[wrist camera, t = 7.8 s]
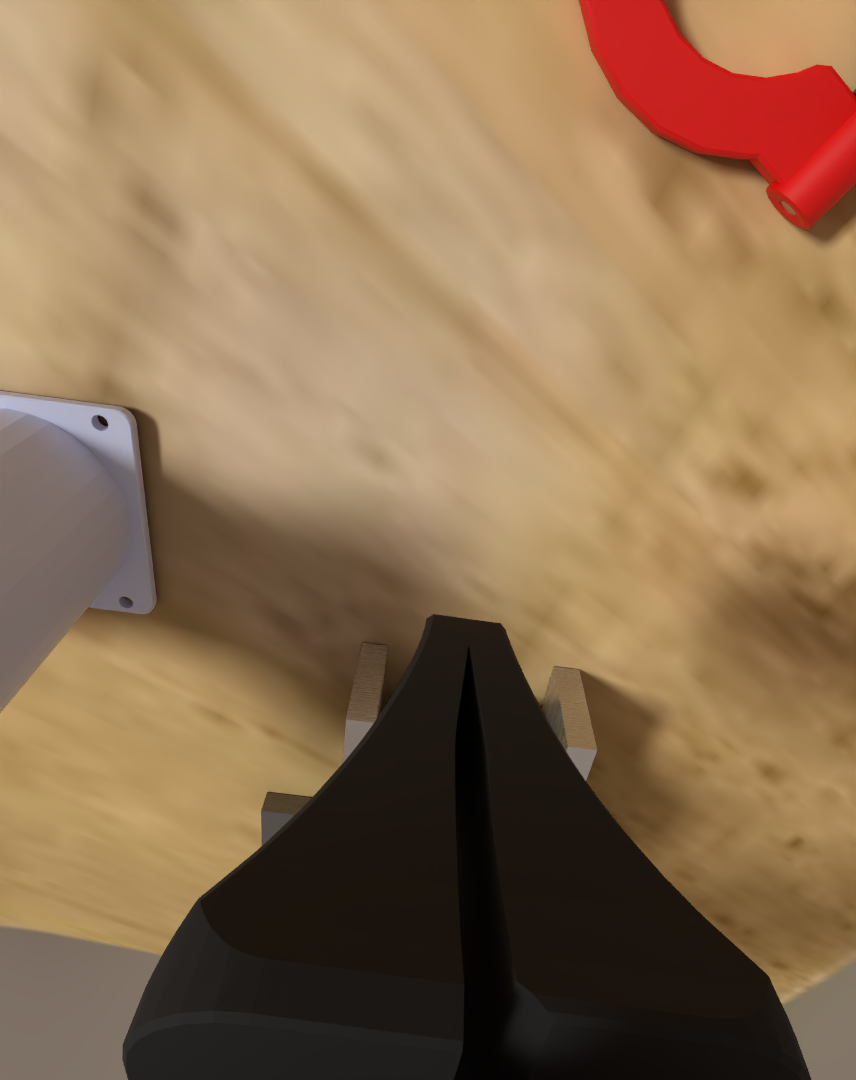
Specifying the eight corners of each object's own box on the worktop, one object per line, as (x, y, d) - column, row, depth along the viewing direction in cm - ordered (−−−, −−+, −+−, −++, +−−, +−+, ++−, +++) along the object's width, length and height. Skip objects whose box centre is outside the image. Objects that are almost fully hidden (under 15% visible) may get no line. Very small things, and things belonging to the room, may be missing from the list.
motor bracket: (267, 870, 33) (229, 1007, 28) (265, 630, 25) (212, 758, 20) (579, 907, 33) (601, 1050, 28) (674, 681, 25) (730, 820, 20)
